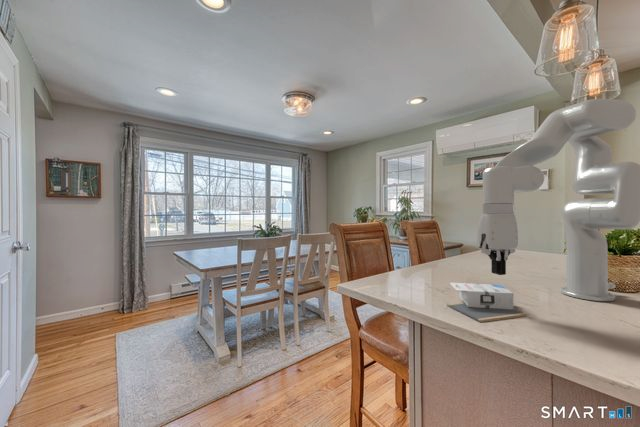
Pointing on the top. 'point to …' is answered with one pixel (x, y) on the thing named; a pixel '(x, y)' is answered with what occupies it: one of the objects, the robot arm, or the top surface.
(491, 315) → the mat
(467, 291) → the ink box
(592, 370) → the top surface
